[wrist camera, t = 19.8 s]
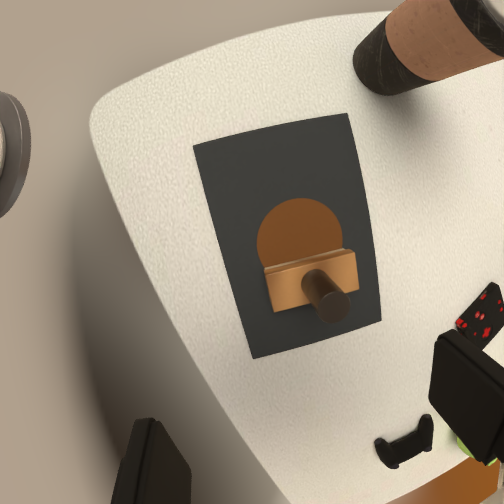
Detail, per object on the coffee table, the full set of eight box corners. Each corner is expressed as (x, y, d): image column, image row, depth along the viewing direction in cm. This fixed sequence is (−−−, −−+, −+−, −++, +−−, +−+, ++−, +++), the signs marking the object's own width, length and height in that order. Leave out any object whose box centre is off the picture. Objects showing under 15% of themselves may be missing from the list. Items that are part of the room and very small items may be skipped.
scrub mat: (252, 357, 35) (253, 359, 34) (193, 146, 29) (192, 145, 28) (380, 319, 35) (381, 320, 34) (346, 113, 29) (347, 112, 29)
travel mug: (363, 102, 29) (498, 46, 9) (340, 40, 27) (441, -59, 7) (416, 95, 29) (550, 58, 9) (395, 37, 27) (507, -32, 7)
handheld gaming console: (502, 317, 38) (541, 343, 28) (455, 369, 39) (489, 403, 29) (491, 279, 35) (537, 302, 26) (439, 335, 37) (480, 371, 27)
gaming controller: (369, 439, 43) (381, 470, 40) (374, 442, 40) (386, 476, 36) (423, 412, 43) (434, 443, 40) (431, 412, 39) (443, 446, 36)
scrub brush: (270, 301, 33) (284, 343, 24) (262, 266, 32) (274, 300, 23) (349, 280, 33) (385, 313, 24) (345, 245, 32) (382, 270, 23)
